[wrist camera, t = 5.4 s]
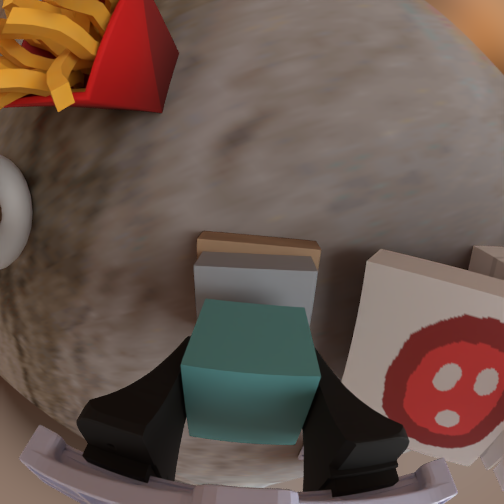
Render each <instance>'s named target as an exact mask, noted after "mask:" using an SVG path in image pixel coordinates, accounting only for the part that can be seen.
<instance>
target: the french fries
mask: <svg viewBox="0 0 504 504" xmlns="http://www.w3.org/2000/svg"><path fill="white" fill-rule="evenodd" d="M2 8H4V9H5V13H6V16H7V19H2V18H0V53H1V54H2V55H3V56H0V110H1V109H2V108H3V107H4V108H8V107H30V106H56V109H57V111H58V112H59V111H61V110H63V109H64V108H66V107H86V108H100V109H117V110H134V111H146V112H157V113H162V112H163V108H164V104H165V100H166V96H167V92H168V89H169V85H170V81H171V78H172V75H173V71H174V68H175V65H176V61H177V58H178V55H179V52H178V50H177V48H176V46H175V43H174V41H173V39H172V37H171V35H170V33H169V31H168V29H167V27H166V25H165V23H164V20H163V18H162V16H161V14H160V12H159V10H158V8H157V6H156V4H155V2H154V0H42V1H38V0H3V7H2ZM14 39H24V40H23V43H22V45H19V44H18V43H17V42H16V41H15V40H14Z"/></svg>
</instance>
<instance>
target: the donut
mask: <svg viewBox="0 0 504 504" xmlns="http://www.w3.org/2000/svg"><path fill="white" fill-rule="evenodd" d="M0 205H1V208H2V220H1V223H0V269H3V268H6V267H7V266H9V265H10V264H11V263H12V262H13V261H15V260H16V259H17V258H18V257H19V255H20V254H21V252H22V250H23V249H24V247H25V245H26V243H27V241H28V237H29V234H30V231H31V226H32V215H33V210H32V201H31V195H30V191H29V188H28V185H27V182H26V180H25V178H24V176H23V174H22V173H21V171H20V169H19V168H18V167H17V166H16V165H15V164H14V163H13V162H12V161H11V160H10V159H8V158H6V157H4V156H2V155H0Z"/></svg>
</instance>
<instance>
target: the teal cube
mask: <svg viewBox="0 0 504 504" xmlns="http://www.w3.org/2000/svg"><path fill="white" fill-rule="evenodd" d="M181 374H182V383H183V392H184V400H185V408H186V415H187V422H188V429H189V435H190V436H193V437H199V438H205V439H213V440H220V441H229V442H239V443H252V444H273V445H295V443H296V441H297V439H298V436H299V434H300V432H301V429H302V427H303V424H304V422H305V419H306V417H307V414H308V411H309V409H310V406H311V403H312V401H313V398H314V395H315V393H316V390H317V387H318V384H319V381H320V378H321V374H320V369H319V365H318V361H317V357H316V352H315V348H314V344H313V340H312V336H311V332H310V327H309V323H308V319H307V315H306V311H305V308H304V307H289V306H276V305H264V304H253V303H242V302H232V301H223V300H214V299H205V301H204V304H203V307H202V309H201V312H200V314H199V317H198V320H197V322H196V325H195V327H194V330H193V333H192V335H191V338H190V341H189V343H188V346H187V349H186V351H185V354H184V357H183V359H182V362H181Z"/></svg>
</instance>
